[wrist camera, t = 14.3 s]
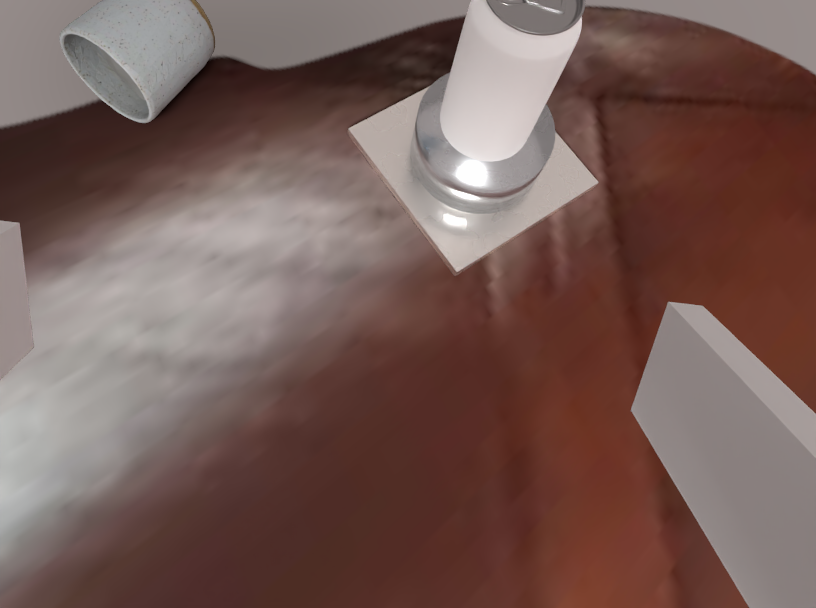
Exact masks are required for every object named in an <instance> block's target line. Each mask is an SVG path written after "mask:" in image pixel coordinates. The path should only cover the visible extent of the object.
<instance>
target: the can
mask: <svg viewBox="0 0 816 608" xmlns="http://www.w3.org/2000/svg"><path fill="white" fill-rule="evenodd" d="M584 9H585V0H471V1H470V4H469V7H468V10H467V14H466V17H465V21H464V25H463V28H462V32H461V35H460V39H459V43H458V46H457V50H456V53H455V57H454V61H453V64H452V68H451V72H450V76H449V79H448V83H447V87H446V90H445V94H444V98H443V102H442V106H441V111H440V124H441V129H442V132H443V134H444V136H445V138H446V139H447V140H448V142H449V143H450V144H451V145H452V146H453V147H454V148H455V149H456V150H457V151H459V152H460V153H462V154H463V155H465V156H467V157H470V158H472V159H475V160H479V161H487V162H493V161H500V160H504V159H507V158H509V157H511V156H513V155H515V154H516V153H517V152H518V151H519V150H520V149H521V148H522V147H523V146H524V144H525V142H526V141H527V139H528V137H529V135H530V133H531V131H532V130H533V128H534V126H535V124H536V122H537V120H538V118H539V116H540V114H541V112H542V110H543V108H544V106H545V104H546V103H547V101H548V99H549V97H550V95H551V93H552V91H553V89H554V87H555V85H556V83H557V81H558V79H559V77H560V75H561V73H562V71H563V69H564V67H565V65H566V63H567V61H568V59H569V57H570V55H571V53H572V51H573V49H574V47H575V45H576V43H577V41H578V38H579V35H580V32H581V27H582V14H583V12H584Z"/></svg>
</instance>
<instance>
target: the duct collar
mask: <svg viewBox="0 0 816 608" xmlns="http://www.w3.org/2000/svg"><path fill="white" fill-rule="evenodd" d="M449 76H450V73H448V74H446V75H444V76H442V77H441V78H439V79H438V80H437V81H435V82H434V83H433V84H432V85H431V86H429V87H427V88H425V89H423V90H421V91H420V92H418V93H416V94H414V95H412V96H410V97H408V98H406V99H404V100H402V101H400V102H398V103H396V104H394V105H393V106H391V107H389V108H387V109H385V110H383V111H381V112H379V113H377V114H375V115H373V116H371V117H369V118H367V119H366V120H364V121H362V122H360V123H358V124H356V125H354V126H352V127H350V128H348V136H349V137H350V138H351V140H352V141H353V142H354V144H355V145H356V146H357V148H358V149H359V150H360V152H361V153H362V154H363V156H364V157H365V158H366V160H367V161H368V162H369V164H370V165H371V166H372V167H373V169H374V170H375V171H376V173H377V174H378V175H379V177H380V178H381V179H382V181H383V182H384V183H385V185H386V186H387V187H388V189H389V190H390V191H391V193H392V194H393V195H394V197H395V198H396V199H397V201H398V202H399V203H400V205H401V206H402V207H403V208H404V210H405V211H406V212H407V214H408V215H409V216H410V218H411V219H412V220H413V222H414V223H415V224H416V226H417V227H418V228H419V230H420V231H421V232H422V234H423V235H424V236H425V238H426V239H427V240H428V242H429V243H430V244H431V246H432V247H433V248H434V250H435V251H436V252H437V253H438V255H439V256H440V257H441V259H442V260H443V261H444V263H445V264H446V265H447V267H448V268H449V269H450V271H451V272H452V273H453V275H454V276H456V275H458V274H460V273H461V272H463V271H464V270H466V269H467V268H469V267H471V266H472V265H474V264H475V263H477V262H478V261H480V260H482V259H483V258H485V257H486V256H488V255H490V254H491V253H493V252H494V251H496V250H497V249H499V248H501V247H502V246H504V245H505V244H507V243H508V242H510V241H512V240H513V239H515V238H516V237H518V236H519V235H521V234H523V233H524V232H526V231H527V230H529V229H530V228H532V227H534V226H535V225H537V224H538V223H540V222H542V221H543V220H545V219H546V218H548V217H549V216H551V215H553V214H554V213H556V212H557V211H559V210H560V209H562V208H564V207H565V206H567V205H568V204H570V203H571V202H573V201H575V200H576V199H578V198H579V197H581V196H582V195H584V194H586V193H587V192H589V191H590V190H592V189H594V188H595V187H596V185H597V184H598V183H599V182H598V181H597V180H596V179H595V178H594V176H593V175H592V174H591V173H590V172H589V171H588V169H587V168H586V167H585V166H584V165H583V163H582V162H581V161H580V160H579V159H578V158H577V156H576V155H575V154H574V153H573V152H572V150H571V149H570V148H569V147H568V146H567V145H566V143H565V142H564V141H563V140H562V139H561V138H560V136H559V135H558V134H557V133H556V132H555V126H554V121H553V118H552V115H551V113H550V110H549V108H548V106H547V105H546V104H545V106H544V108H543V110H542V112H541V114H540V116H539V118H538V120H537V122H536V124H535V126H534V128H533V130H532V131H531V133H530V135H529V137H528V139H527V141H526V142H525V144H524V146H523V147H522V148H521V149H520V150H519V151H518V152H517V153H516V154H515V155H513V156H511V157H509V158H507V159H504V160H500V161H493V162H487V161H479V160H475V159H472V158H470V157H467V156H465V155H463V154H462V153H460V152H459V151H457V150H456V149H455V148H454V147H453V146H452V145H451V144H450V143H449V142H448V140H447V139H446V138H445V136H444V134H443V132H442V129H441V124H440V111H441V106H442V102H443V98H444V94H445V90H446V87H447V83H448V79H449Z"/></svg>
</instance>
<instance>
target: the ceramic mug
mask: <svg viewBox="0 0 816 608" xmlns="http://www.w3.org/2000/svg"><path fill="white" fill-rule="evenodd" d="M59 40H60V45H61V48H62V50H63V53H64V55H65V56H66V58H67V60H68V61H69V63H70V65H71V66H72V68H73V69H74V70H75V72H76V73H77V74H78V76H79V77H80V78H81V79H82V80H83V81H84V82H85V83H86V85H87V86H88V87H89V88H90V89H91V90H92V91H93V92H94V93H95V94H96V95H97V96H98V97H99V98H100V99H101V100H102V101H104V102H105V103H106V104H108V105H109V106H110V107H112V108H113V109H114V110H116V111H117V112H118V113H120V114H122V115H123V116H125V117H127V118H129V119H131V120H134V121H136V122H139V123H148V122H150V121H152V120H153V119H154V118H155V117H156V116H157V115H158V114H159V113H160V112H161V111H162V110H163V109H164V108H165V107H166V106H167V104H168V103H169V102H170V101H171V100H172V99H173V98H174V97H175V96H176V95H177V94H178V93H179V92H180V91H181V90H182V89H183V88H184V87H185V86H186V85H187V83H188V82H189V81H190V80H191V79H192V78H193V77H194V76H195V75H196V74H197V73H198V72H199V71H200V70H201V69H202V68H203V67H204V66H205V65H206V63H207V61H208V60H209V59H210V57H211V55H212V53H213V52H214V48H215V37H214V33H213V29H212V26H211V24H210V21H209V19H208V17H207V16H206V14H205V12H204V10H203V9H202V8H201V6H200V5H199V3H198V2H197V1H196V0H102V1H101V2H99V3H98V4H96V5H95V6H94V7H92V8H91V9H90V10H88V11H87V12H86V13H84V14H83V15H81V16H80V17H78V18H77V19H76V20H74V21H73V22H71V23H70V24H69V25H68V26H67V27H65V28H64V29H63V31H61V33H60V39H59Z"/></svg>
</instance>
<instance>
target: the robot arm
mask: <svg viewBox="0 0 816 608" xmlns="http://www.w3.org/2000/svg"><path fill="white" fill-rule="evenodd" d="M33 348H34V343H33V334H32V326H31V317H30V309H29V300H28V292H27V283H26V275H25V266H24V258H23V249H22V241H21V232H20V224H19V223H15V222H7V221H0V380H1V379H2V378H3V377H4V376H5V375H6V374H7V373H8V372H9V371H10V370H11V369H12V368H13V367H14V366H15V365H16V364H17V363H18V362H19V361H20V360H21V359H22V358H23V357H24V356H26V355H27V354H28V353H29V352H30V351H31V350H32V349H33ZM631 411H632V413H633V415H634V416H635V418H636V420H637V421H638V423H639V425H640V426H641V428H642V430H643V431H644V433H645V435H646V436H647V438H648V440H649V441H650V443H651V445H652V446H653V448H654V450H655V451H656V453H657V455H658V456H659V458H660V460H661V461H662V463H663V465H664V466H665V468H666V470H667V471H668V473H669V475H670V476H671V478H672V480H673V481H674V483H675V485H676V486H677V488H678V490H679V491H680V493H681V495H682V496H683V498H684V500H685V501H686V503H687V505H688V506H689V508H690V510H691V511H692V513H693V515H694V516H695V518H696V520H697V521H698V523H699V525H700V526H701V528H702V530H703V531H704V533H705V535H706V536H707V538H708V540H709V541H710V543H711V545H712V546H713V548H714V550H715V551H716V553H717V555H718V556H719V558H720V560H721V561H722V563H723V565H724V566H725V568H726V570H727V571H728V573H729V575H730V576H731V578H732V580H733V581H734V583H735V585H736V586H737V588H738V590H739V591H740V593H741V595H742V596H743V598H744V600H745V601H746V603H747V605H748V606H749V608H816V414H815V413H814V412H813V411H812V410H811V409H810V408H809V407H808V406H807V405H806V404H805V403H804V402H803V401H802V400H801V399H800V398H798V397H797V396H796V395H795V394H794V393H793V392H792V391H791V390H790V389H789V388H788V387H787V386H786V385H785V384H784V383H783V382H782V381H781V380H780V379H779V378H778V377H777V376H775V375H774V374H773V373H772V372H771V371H770V370H769V369H768V368H767V367H766V366H765V365H764V364H763V363H762V362H761V361H760V360H759V359H758V358H757V357H756V356H755V355H754V354H752V353H751V352H750V351H749V350H748V349H747V348H746V347H745V346H744V345H743V344H742V343H741V342H740V341H739V340H738V339H737V338H736V337H735V336H734V335H733V334H732V333H731V332H729V331H728V330H727V329H726V328H725V327H724V326H723V325H722V324H721V323H720V322H719V321H718V320H717V319H716V318H715V317H714V316H713V315H712V314H711V313H710V312H709V311H708V310H707V309H705V308H704V307H703V306H699V305H691V304H683V303H674V302H668V304H667V307H666V310H665V313H664V316H663V319H662V321H661V324H660V327H659V330H658V333H657V336H656V339H655V342H654V345H653V348H652V350H651V353H650V356H649V359H648V362H647V365H646V368H645V371H644V374H643V377H642V379H641V382H640V385H639V388H638V391H637V394H636V397H635V400H634V403H633V405H632V408H631Z"/></svg>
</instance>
